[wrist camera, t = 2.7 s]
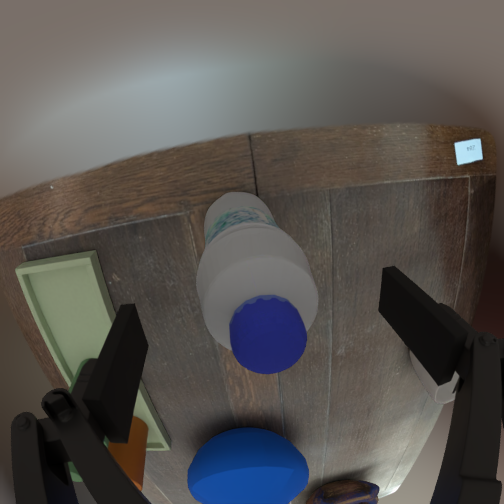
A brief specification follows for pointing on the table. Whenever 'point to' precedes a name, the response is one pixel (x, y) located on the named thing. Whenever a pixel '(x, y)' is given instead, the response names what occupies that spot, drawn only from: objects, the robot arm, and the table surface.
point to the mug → (436, 392)
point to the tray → (79, 321)
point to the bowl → (345, 493)
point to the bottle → (254, 285)
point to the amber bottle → (132, 451)
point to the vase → (247, 469)
